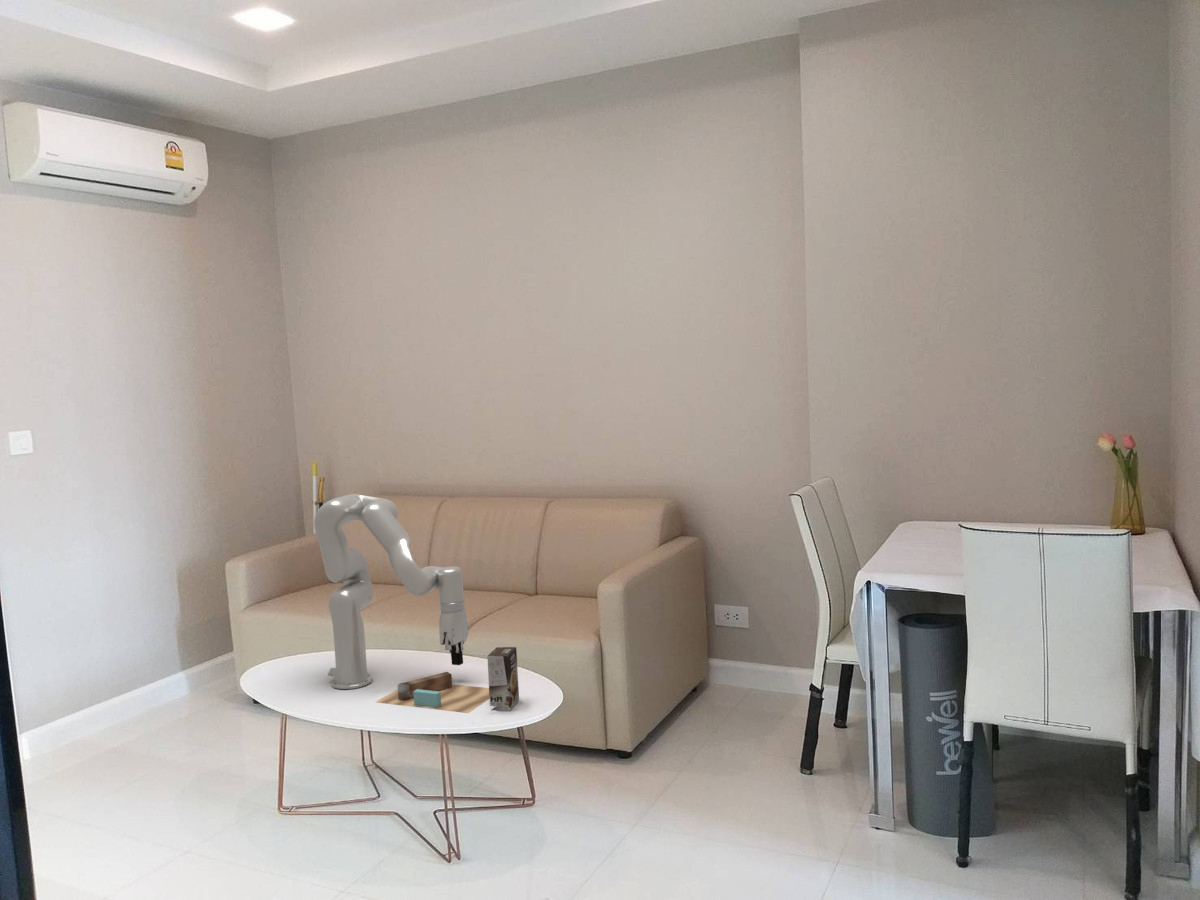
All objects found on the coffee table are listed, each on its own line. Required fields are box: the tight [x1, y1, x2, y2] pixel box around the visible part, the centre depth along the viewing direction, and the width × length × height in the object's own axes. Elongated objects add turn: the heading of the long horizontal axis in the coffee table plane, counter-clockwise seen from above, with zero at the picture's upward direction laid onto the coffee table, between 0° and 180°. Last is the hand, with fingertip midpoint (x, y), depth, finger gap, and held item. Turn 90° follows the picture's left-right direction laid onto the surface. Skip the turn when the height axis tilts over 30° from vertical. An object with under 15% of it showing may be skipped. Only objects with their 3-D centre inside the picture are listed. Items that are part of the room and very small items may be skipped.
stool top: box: [375, 683, 490, 714], centre depth 268 cm, size 32×20×2 cm, turn 67°
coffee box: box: [487, 646, 520, 712], centre depth 261 cm, size 9×6×16 cm
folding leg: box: [397, 671, 453, 700], centre depth 271 cm, size 17×4×4 cm, turn 127°
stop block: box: [413, 689, 441, 708], centre depth 260 cm, size 8×2×4 cm, turn 67°
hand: (457, 664), depth 282 cm, fingers closed
